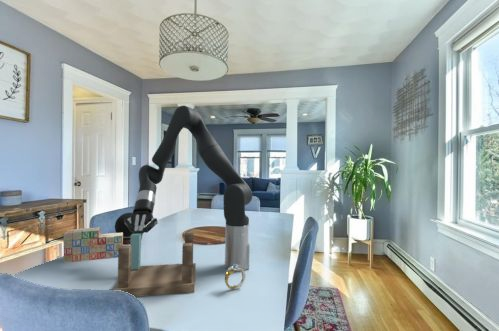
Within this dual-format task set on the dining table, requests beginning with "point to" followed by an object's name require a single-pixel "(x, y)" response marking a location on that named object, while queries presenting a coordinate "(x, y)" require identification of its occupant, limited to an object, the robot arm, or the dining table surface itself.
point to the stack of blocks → (90, 244)
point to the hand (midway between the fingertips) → (136, 241)
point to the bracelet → (228, 273)
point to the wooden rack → (157, 274)
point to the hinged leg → (135, 251)
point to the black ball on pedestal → (124, 228)
